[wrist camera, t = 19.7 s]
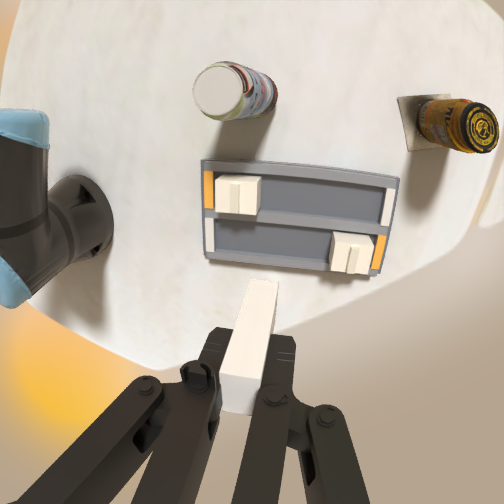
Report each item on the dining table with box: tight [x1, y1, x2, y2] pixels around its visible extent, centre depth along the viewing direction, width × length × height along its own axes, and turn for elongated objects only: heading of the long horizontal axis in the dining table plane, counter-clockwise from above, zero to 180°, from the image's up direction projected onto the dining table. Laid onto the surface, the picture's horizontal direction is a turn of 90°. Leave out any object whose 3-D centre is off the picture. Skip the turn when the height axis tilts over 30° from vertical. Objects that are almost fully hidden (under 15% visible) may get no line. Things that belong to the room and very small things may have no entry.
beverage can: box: [193, 61, 278, 121], centre depth 27 cm, size 6×7×12 cm
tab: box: [329, 231, 374, 274], centre depth 36 cm, size 5×4×4 cm
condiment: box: [398, 94, 499, 154], centre depth 24 cm, size 7×8×12 cm
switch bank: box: [201, 159, 400, 276], centre depth 37 cm, size 26×14×2 cm, turn 88°
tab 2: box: [215, 174, 262, 215], centre depth 35 cm, size 5×4×4 cm
